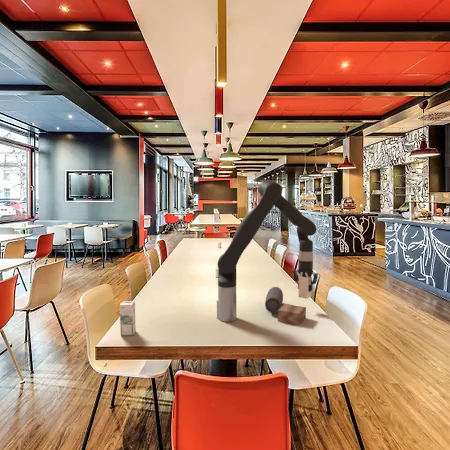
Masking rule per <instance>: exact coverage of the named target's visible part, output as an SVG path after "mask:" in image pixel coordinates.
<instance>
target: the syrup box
mask: <svg viewBox="0 0 450 450" xmlns="http://www.w3.org/2000/svg"><path fill="white" fill-rule="evenodd" d="M119 319H120V320H119V323H120V325H119V327H120V336H124V337H125V336H134V335H135V332H136V331H137V327H136V326H137V325H136V301H135V300H129V301H128V300H126V301H123V300H122V302H120V304H119Z"/></svg>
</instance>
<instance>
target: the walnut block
mask: <svg viewBox="0 0 450 450" xmlns="http://www.w3.org/2000/svg"><path fill="white" fill-rule="evenodd" d="M306 315H307V307H305V306H300V305H294V304H286V303H284V304H282V306H281V308H280V309H279V310H278V312H277V323H279V322H280V323H284V324H289V325H297V326H301V324H303V322H304V321H305V320H306V317H307V316H306Z"/></svg>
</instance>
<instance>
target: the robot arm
mask: <svg viewBox="0 0 450 450" xmlns="http://www.w3.org/2000/svg"><path fill="white" fill-rule="evenodd" d="M258 193H259V195H260V196H261V199H260V200H259V201H258V204H256V206H255V207H254V208H253V209H252V210H250V211H249V212H248V213H246V215H245V216H244V217H243V218H242V220H241V221H240V223H239V225H238V227H237V228H236V230H235V233H234V235H233V238H232V240H231V242H230V244H229V245H228V247H227V249H226V250H225V251H224V253H223V254H221V255H220V256H219V258H218V260H217V269H218V270H217V271H218V275H217V277H218V278H217V292H218V294H217V300H216V319H217V320H219V321H220V322H224V323H225V322H226V323H227V322H230V323H231V322H233V321H236V320H237V318H238V317H237V312H238V311H237V265H238V262H239V260H240V259H241V256H242V255H243V253H244V251H245V250H246V249H247V248H248V246H249V245H250V243H251V242H252V240H253V239H254V237H255V236H256V235H257V233H258V231H259V230H260V227H261V226H262V224H263V223H264V221H265V220H266V218H267V216H268V214H269V213H270V212H271V210H272V208H273V207H274V206H275V208H277V210H279V212H281V214H282V215H283V216H284V217H285V218H286V219H287V220H288V221H289V222H290V223H291V224H292V226H293V225H294V226H295V227H296V235H297V239H298V242H299V249H298V250H299V252H298V265H297V266H298V269H294V270H293V271H292V274H293V279H294V282H296V283H297V289H298V290H299V277H306V278H308V281H309V292H311V293H312V291H313V286H314V285H315V284H317V281H318V276H319V273H318V272H315V271H314V270H313V269H314V243H313V241H312V240H311V239H310V238H309V237H310V236H314V235H315V234H316V233H317V226H316V224H315V223H314V222H313V221H312V220H311V219H309V218H308V217H306V216H305V215H303V213H302V212H301V211H300V210H299V209H298V208H297V207H296V206H295V205H293V203H291V202H290V201H289V200H288V199H286V198H285V197H284V196H283V195H282V193H283V187H282V186H281V184H280V183H279V182H276V181H273V180H269V179H268V180H267V179H266V180H263V181H262V182H261V183H260V184H259V185H258ZM310 277H311V278H310ZM312 277H313V278H312ZM309 278H310V279H309Z"/></svg>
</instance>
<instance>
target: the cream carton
mask: <svg viewBox="0 0 450 450" xmlns="http://www.w3.org/2000/svg"><path fill="white" fill-rule="evenodd" d="M311 277H312V276H311ZM311 277H310V278H311ZM310 278H309V279H310ZM298 279H299V289H298V298H302V299H307V300H308V299H310V298H311V297H312V291H311V292H309V281H308V278H306V277H299V276H298Z"/></svg>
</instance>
